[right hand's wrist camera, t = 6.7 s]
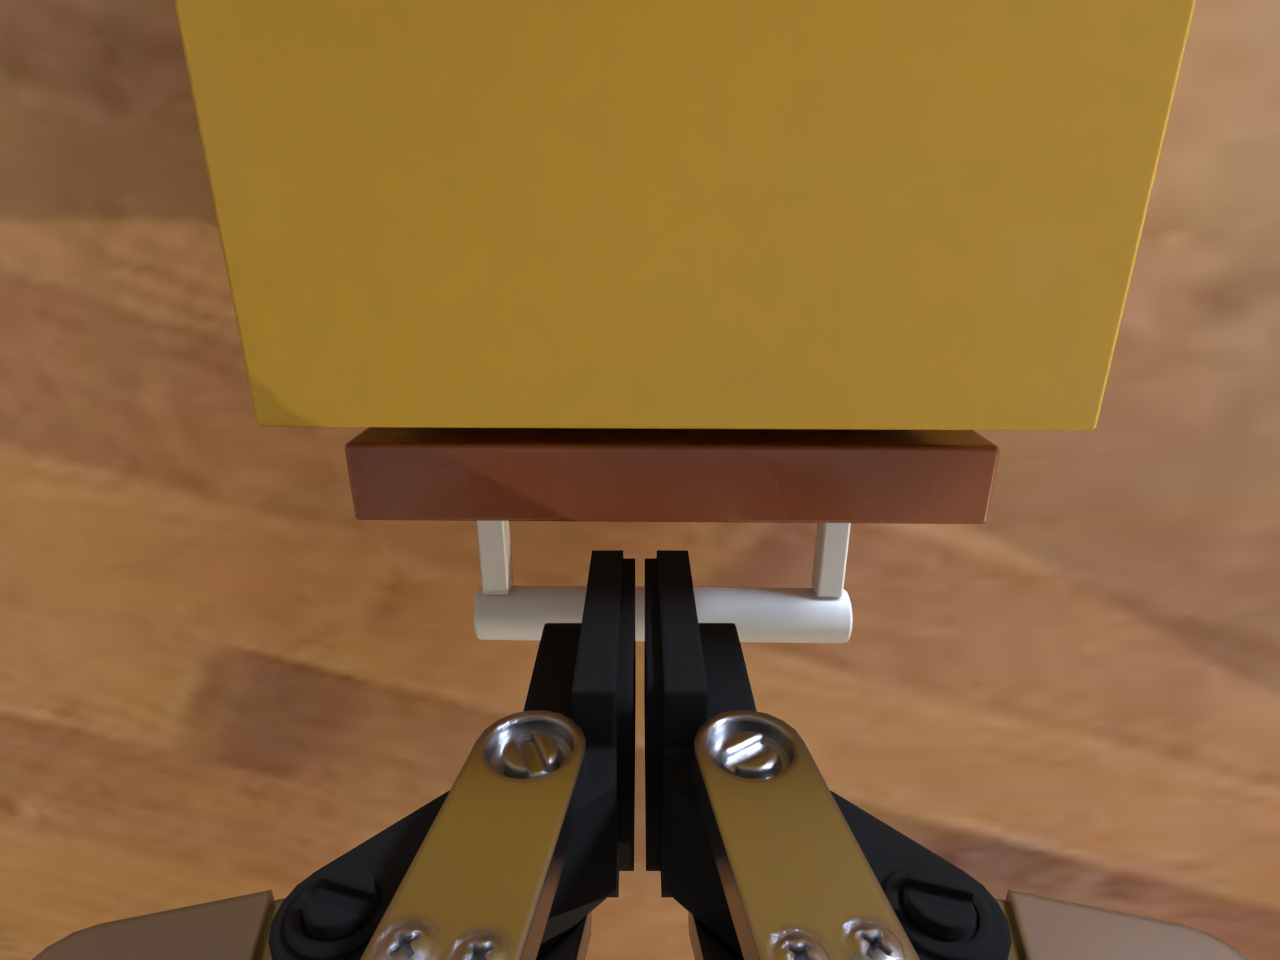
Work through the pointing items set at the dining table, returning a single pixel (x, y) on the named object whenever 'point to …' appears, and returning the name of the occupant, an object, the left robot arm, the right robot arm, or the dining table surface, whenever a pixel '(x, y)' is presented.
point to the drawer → (672, 503)
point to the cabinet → (681, 207)
